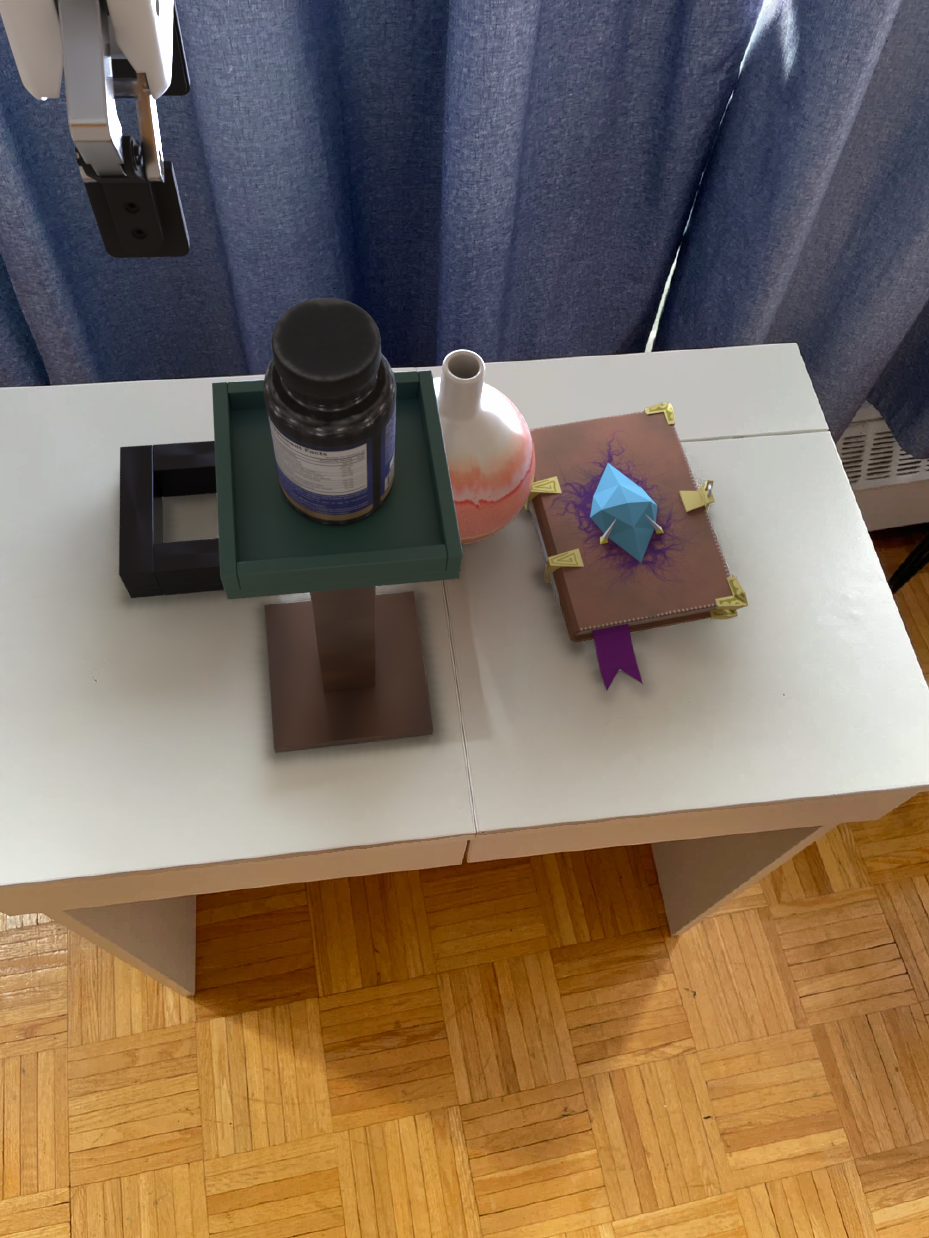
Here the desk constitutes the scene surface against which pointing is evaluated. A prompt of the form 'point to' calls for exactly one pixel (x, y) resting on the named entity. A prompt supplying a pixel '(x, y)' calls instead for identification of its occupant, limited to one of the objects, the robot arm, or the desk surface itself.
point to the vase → (482, 448)
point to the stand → (346, 669)
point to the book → (626, 532)
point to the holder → (141, 520)
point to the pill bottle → (331, 411)
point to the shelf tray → (323, 554)
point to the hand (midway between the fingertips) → (152, 167)
